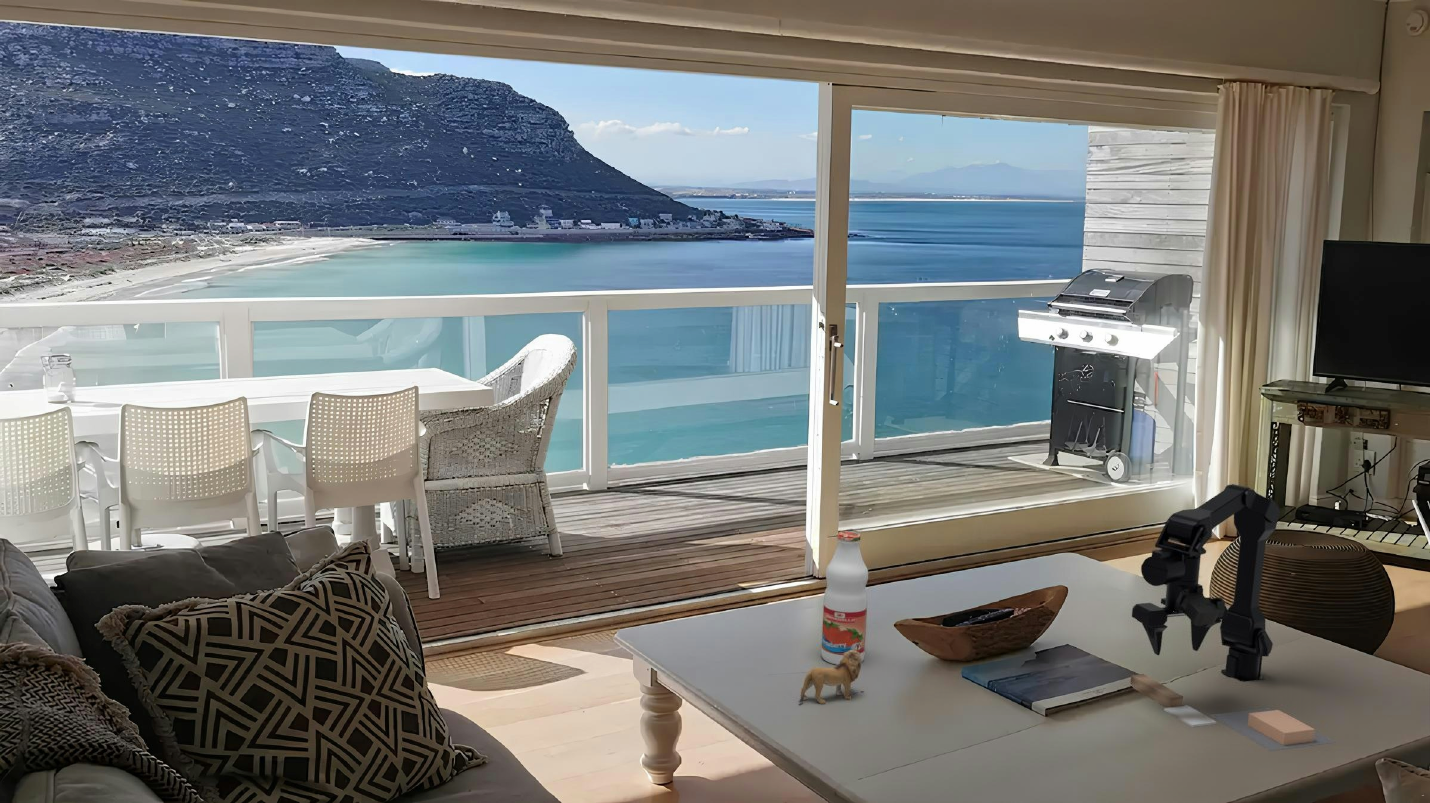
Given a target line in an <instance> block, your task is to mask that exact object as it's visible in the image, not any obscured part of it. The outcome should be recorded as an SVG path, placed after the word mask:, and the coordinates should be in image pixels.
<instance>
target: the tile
mask: <svg viewBox="0 0 1430 803" xmlns="http://www.w3.org/2000/svg"><path fill="white" fill-rule="evenodd" d="M1248 726H1250V727H1252V728H1254V729H1255V730H1257V731H1259V732H1261V733H1262V734H1264V735H1266V736H1268V737H1269V738H1271V739H1273V740H1275V741H1276V742H1278V743H1280V744H1282V745H1290V744H1298V743H1306V742H1313V741H1314V732H1316V729H1315V728H1313V727H1311V726H1310V725H1307V724H1306V723H1304V722H1302V721H1300V720H1298V719H1297V718H1295V717H1292V716H1290V715H1289V714H1287V713H1285V712H1283V711H1281V710H1280V709H1274V710H1273V711H1264V712H1256V713H1249V717H1248Z"/></svg>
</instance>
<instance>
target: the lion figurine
mask: <svg viewBox="0 0 1430 803" xmlns="http://www.w3.org/2000/svg"><path fill="white" fill-rule="evenodd" d="M862 664H863V661H862V659H861V656H860V653H859V652H857V651H854V650H849V651H848V652H845V653H844V654H843V659H842V660H841V661H840V664H838V665H836V666H834V667H821V666H817V667H813V668H811V669H810V670H809V671H808V673H807V674H806V676H805V678H804V682H803V685H802V687H801V691H800V699H799V701H798V703H803V701H804V700H808V696H807V695H805V694H806V692H807V691H808V690H809V689H811V688H812V687H813V686H814V689H815V694H814V697H815V699H816V700H817V701H818V703H819V704H821V705H824V704H826V700H825V699H822V698H821V694H822V693H821V692H822V691H823V688H824V685H826V686H829V687H836V688H835V694H836V695H837V696H841V695H843V696H844V698H845V699H846V700H852V696H851V695H849V694H850V690H851V683H853V682H855V681H856V680H857V679H858V678H859V675H860V672H861V669H862ZM842 685H843V687H844V691H842Z"/></svg>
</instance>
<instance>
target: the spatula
mask: <svg viewBox="0 0 1430 803" xmlns="http://www.w3.org/2000/svg"><path fill="white" fill-rule="evenodd" d="M1130 684H1131V685H1132V687H1133V688H1132V689H1133V690H1136V691H1137V692H1139V693H1141V694H1142V695H1145V696H1146V697H1147V698H1149V699H1151V700H1153V701H1154V702H1156V703H1157V704H1160V705H1162V706H1163V707H1164V711H1165V712H1167V713H1168V714H1170V715H1171V716H1173V717H1175V718H1176V719H1179V720H1180V721H1181V722H1183V723H1185V724H1187V725H1189V726H1190V727H1192V728H1194V727H1204V726H1211V725H1217V721H1216V720H1214V719H1212V718H1210V716H1209V717H1208V716H1207V715H1205V714H1203V713H1202V712H1200V711H1198V710H1197V709H1195V708H1194V707H1191V706H1190V705H1183V704H1184V703H1183V701H1184V696H1183V695H1181V694H1180V693H1178V692H1176V691H1175V690H1172V689H1171V688H1169V687H1167V686H1166V685H1163V684H1161V683H1160V682H1158V681H1156V680H1155V679H1153V678H1151V677H1149V676H1148V675H1146V674H1144V673H1140V674H1139V673H1137V674H1131V675H1130ZM1130 684H1129V685H1130Z"/></svg>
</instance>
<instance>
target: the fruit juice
mask: <svg viewBox="0 0 1430 803" xmlns="http://www.w3.org/2000/svg"><path fill="white" fill-rule="evenodd" d="M836 539H837V540H836V541H838V544H837V546H836V549H835V551H834V553H833V556H832V559H831V560H830V562H829V563H828V564H827V566H826V569H825V579H826V582H827V583H826V584H827V586H826V588H825V590H824V595H823V607H822V608H823V610H822V626H821V628H822V629H821V650H820V651H821V658H822V659H823V660H824V661H826V662H827V663H830V664H833V665H836V666H838V664H840V661H841V660H842V659H843V654H844V653H845V652H848V651H849V650H854V651H857V652H859V653H860V656H861V659H862V662H863V661H864V659H865V652H866V638H867V637H866V635H867V634H866V633H867V618H868V617H867V616H868V614H867V613H868V593H867V590H866V586H867V583H868V580H869V570H868V568H867V565H866V563H865V562H864V559H863V556H862V552H861V548H860V542H861V533H859V532H856V531H850V530H843V531H839V532H837V536H836Z"/></svg>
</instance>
